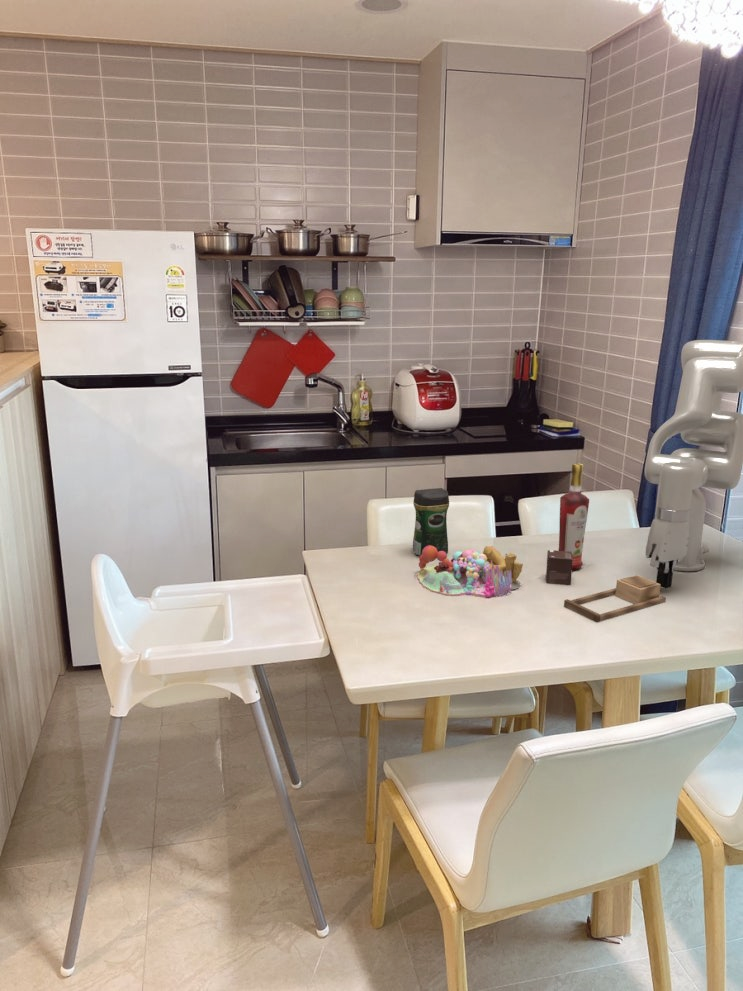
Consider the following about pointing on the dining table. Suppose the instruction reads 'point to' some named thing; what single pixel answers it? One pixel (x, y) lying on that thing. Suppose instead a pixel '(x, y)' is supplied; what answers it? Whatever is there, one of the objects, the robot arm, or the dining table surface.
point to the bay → (576, 607)
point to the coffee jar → (430, 520)
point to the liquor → (573, 518)
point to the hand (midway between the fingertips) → (663, 586)
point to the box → (559, 567)
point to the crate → (637, 589)
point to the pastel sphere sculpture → (469, 572)
